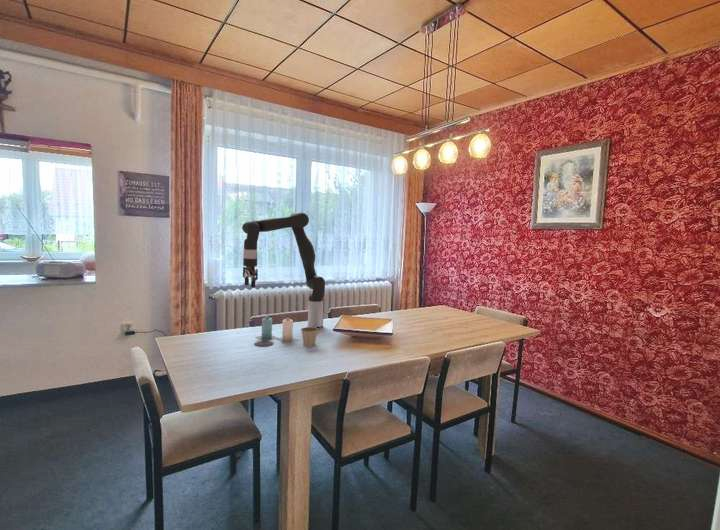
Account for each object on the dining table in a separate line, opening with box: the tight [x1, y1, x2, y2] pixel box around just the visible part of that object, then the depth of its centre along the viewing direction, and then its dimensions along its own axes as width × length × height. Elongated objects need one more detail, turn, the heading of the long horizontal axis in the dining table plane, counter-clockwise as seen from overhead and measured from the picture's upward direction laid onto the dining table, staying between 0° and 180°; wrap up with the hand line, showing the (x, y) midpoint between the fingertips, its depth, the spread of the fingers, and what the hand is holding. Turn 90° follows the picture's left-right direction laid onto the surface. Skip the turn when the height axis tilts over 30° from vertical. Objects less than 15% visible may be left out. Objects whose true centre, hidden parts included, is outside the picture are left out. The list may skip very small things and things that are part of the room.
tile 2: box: [275, 336, 300, 344], centre depth 196 cm, size 10×10×1 cm
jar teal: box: [261, 316, 273, 339], centre depth 197 cm, size 6×6×12 cm
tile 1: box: [254, 335, 278, 341], centre depth 197 cm, size 10×10×1 cm
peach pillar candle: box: [281, 317, 294, 341], centre depth 195 cm, size 6×6×12 cm
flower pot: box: [300, 326, 319, 347], centre depth 190 cm, size 9×9×9 cm
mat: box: [253, 340, 275, 348], centre depth 186 cm, size 10×10×1 cm
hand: (249, 286), depth 196 cm, fingers open, 8 cm apart
